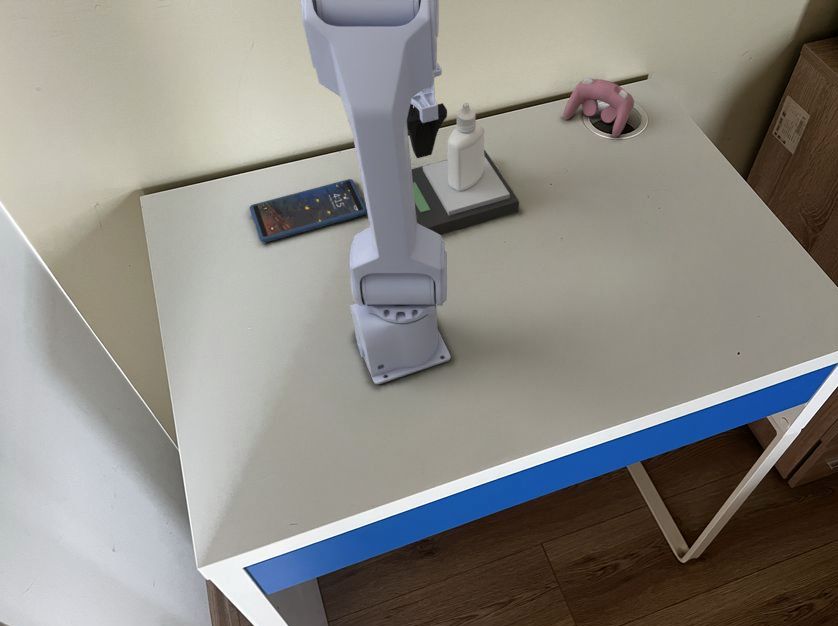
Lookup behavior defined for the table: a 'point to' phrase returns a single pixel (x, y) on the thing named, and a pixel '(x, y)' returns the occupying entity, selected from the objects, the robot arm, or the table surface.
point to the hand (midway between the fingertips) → (413, 137)
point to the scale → (460, 198)
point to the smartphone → (307, 210)
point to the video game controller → (604, 92)
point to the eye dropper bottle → (465, 151)
